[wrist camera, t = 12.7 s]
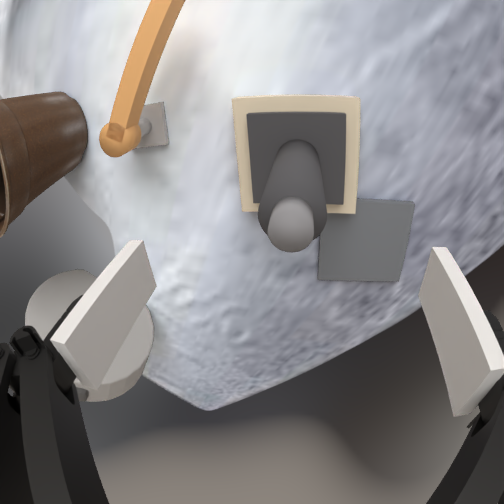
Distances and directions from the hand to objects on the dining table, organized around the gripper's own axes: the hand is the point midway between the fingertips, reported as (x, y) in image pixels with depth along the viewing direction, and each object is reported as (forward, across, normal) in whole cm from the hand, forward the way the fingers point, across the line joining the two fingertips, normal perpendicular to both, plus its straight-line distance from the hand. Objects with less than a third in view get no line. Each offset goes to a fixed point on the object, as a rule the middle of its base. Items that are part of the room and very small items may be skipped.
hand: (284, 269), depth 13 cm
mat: (+21, -8, +11) cm, 25 cm away
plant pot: (+22, +32, -6) cm, 39 cm away
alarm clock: (+22, +32, +24) cm, 45 cm away
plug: (+21, 0, 0) cm, 21 cm away
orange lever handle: (+17, +14, -10) cm, 24 cm away
